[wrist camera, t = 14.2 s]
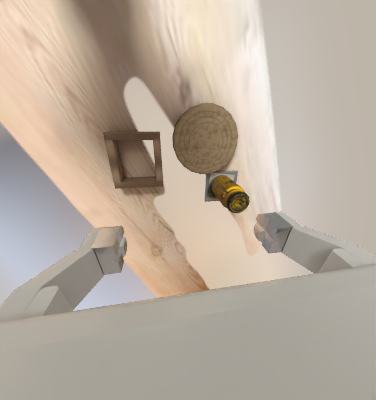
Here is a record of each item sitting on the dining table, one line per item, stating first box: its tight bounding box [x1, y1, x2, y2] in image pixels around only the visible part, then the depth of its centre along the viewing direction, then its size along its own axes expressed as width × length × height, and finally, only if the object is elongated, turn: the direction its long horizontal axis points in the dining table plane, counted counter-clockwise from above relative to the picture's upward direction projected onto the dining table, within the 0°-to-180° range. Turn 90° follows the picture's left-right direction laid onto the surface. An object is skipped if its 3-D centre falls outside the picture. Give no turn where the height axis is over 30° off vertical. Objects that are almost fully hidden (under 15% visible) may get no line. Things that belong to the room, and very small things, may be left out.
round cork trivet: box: [173, 103, 238, 174], centre depth 38 cm, size 16×16×3 cm
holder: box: [103, 132, 163, 189], centre depth 37 cm, size 13×12×4 cm
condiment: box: [206, 173, 249, 213], centre depth 40 cm, size 7×8×12 cm
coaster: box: [205, 171, 238, 202], centre depth 45 cm, size 9×9×1 cm
